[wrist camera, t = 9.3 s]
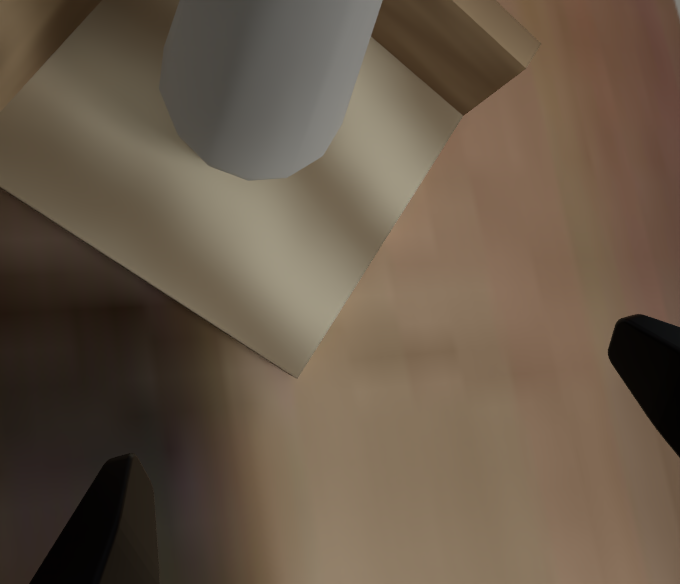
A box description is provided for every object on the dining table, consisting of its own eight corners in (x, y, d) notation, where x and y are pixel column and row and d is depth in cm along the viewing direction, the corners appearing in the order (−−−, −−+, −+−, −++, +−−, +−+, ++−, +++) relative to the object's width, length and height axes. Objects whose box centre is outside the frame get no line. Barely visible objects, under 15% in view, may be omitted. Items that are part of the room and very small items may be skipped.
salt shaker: (138, 58, 17) (4, -677, 4) (290, 26, 19) (499, -568, 6) (201, 218, 17) (241, -56, 5) (345, 172, 19) (650, -117, 6)
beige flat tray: (291, 376, 19) (327, 393, 14) (-65, 145, 16) (-174, 68, 11) (464, 104, 22) (541, 43, 17) (192, -131, 19) (194, -285, 14)
